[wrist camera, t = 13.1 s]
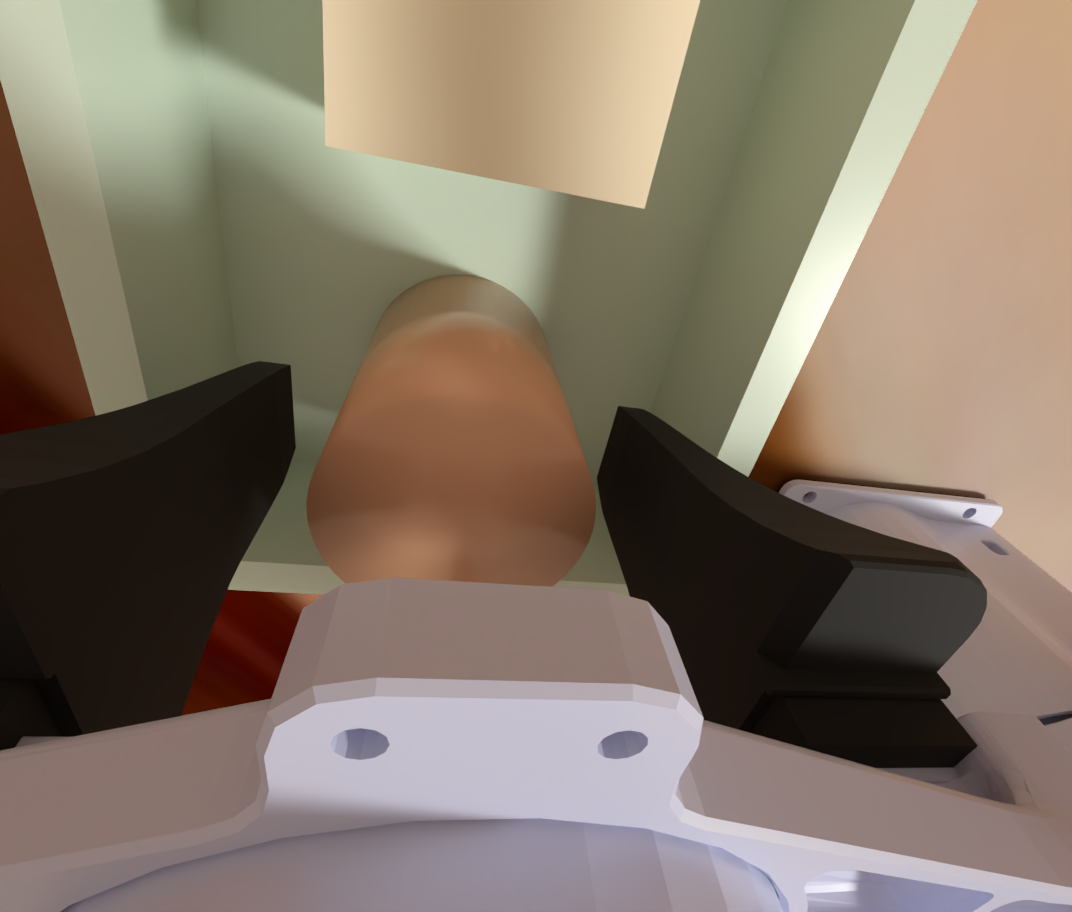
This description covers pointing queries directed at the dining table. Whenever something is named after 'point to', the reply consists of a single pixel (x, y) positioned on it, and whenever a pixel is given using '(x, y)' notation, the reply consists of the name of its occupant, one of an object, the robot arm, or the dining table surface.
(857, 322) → the dining table surface
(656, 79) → the birch cube
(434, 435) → the terracotta capsule
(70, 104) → the tote
